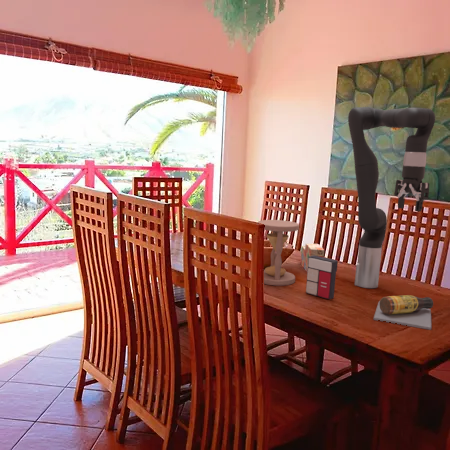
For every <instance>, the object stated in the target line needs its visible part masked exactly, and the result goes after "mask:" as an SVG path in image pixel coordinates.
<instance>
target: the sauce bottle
mask: <svg viewBox="0 0 450 450" xmlns="http://www.w3.org/2000/svg"><path fill="white" fill-rule="evenodd" d="M379 301H380V309H381V311H382V312H383V313H384V314H389V315H391V314H403V313H413V312H418V311H420V310H421V309H423V308H426V309H432V308H433V307H434V301H433V299H432V297H429V296H425V297H418V296H416V295H415V296H414V295H410V294H407V295H404V294H403V295H391V296H390V295H389V296H383V297H382V298H381V299H380V300H379Z"/></svg>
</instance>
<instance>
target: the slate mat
mask: <svg viewBox="0 0 450 450" xmlns="http://www.w3.org/2000/svg"><path fill="white" fill-rule="evenodd" d="M431 309H432V308H430V309H426V308H423V309H421V310H420V311H418V312H413V313H403V314H391V315H389V314H384V313H383V312H382V311H381V309H380V300H379V301H378V303H377V306H376V309H375V312H374V315H373V321H378V320H380V321H379V322H383V321H386V322H385V323H389V322H391V323H390V324H395V323H397V324H396V325H400V324H401V326H406V325H407V326H406V327H413V328H416V329H417V328H418V329H424V330H430V331H432V310H431Z"/></svg>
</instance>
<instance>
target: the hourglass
mask: <svg viewBox="0 0 450 450" xmlns="http://www.w3.org/2000/svg"><path fill="white" fill-rule="evenodd" d="M258 223H262V224H264V225H265V230H264V231H269V233H267V234H266V238H267V239H268V241H269V243H270V245H271V246H272V247H271V248H272V250H271V252H270V266H267V267H265V269H263V270H264V285H267V286H268V285H269V286H278V287H280V286H281V287H282V286H283V287H284V286H289V285H293V284H295V282H296V275H294V273H291V272H289V271H286V269H285V268H284V267H282V265H283V261H282V256H281V255H282V252H283V250H284V244H285V243H286V242H287V240H288V239H289V237H290V235H289V234H285V233H287V232H289V233H290V232H291V233H292V232H297V231H299V228H300V224H299V223H297V222H294V221H289V220H280V219H264V220H263V219H262V220H258V221H257V224H258ZM270 232H271V233H270Z"/></svg>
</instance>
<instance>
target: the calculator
mask: <svg viewBox="0 0 450 450" xmlns="http://www.w3.org/2000/svg"><path fill="white" fill-rule="evenodd" d="M338 262H339V261H338V260H337V259H333V258H328V257H325V256H324V257H320V256H315V255H313V256H309V258H308V271H307V272H306V285H305V293H306V294H308V295H311V296H315V297H318V298H322V299H326V300H331V299H334V298H335V288H336V276H337V271H338Z"/></svg>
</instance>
